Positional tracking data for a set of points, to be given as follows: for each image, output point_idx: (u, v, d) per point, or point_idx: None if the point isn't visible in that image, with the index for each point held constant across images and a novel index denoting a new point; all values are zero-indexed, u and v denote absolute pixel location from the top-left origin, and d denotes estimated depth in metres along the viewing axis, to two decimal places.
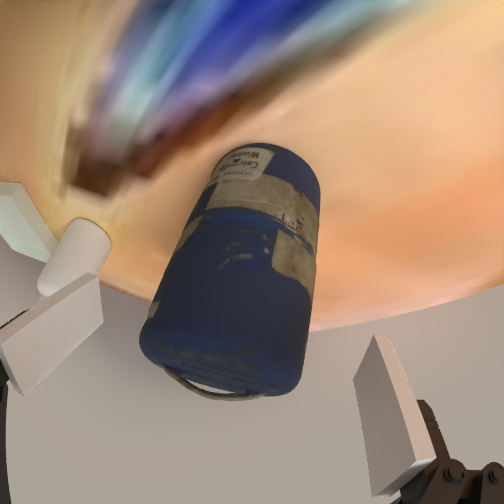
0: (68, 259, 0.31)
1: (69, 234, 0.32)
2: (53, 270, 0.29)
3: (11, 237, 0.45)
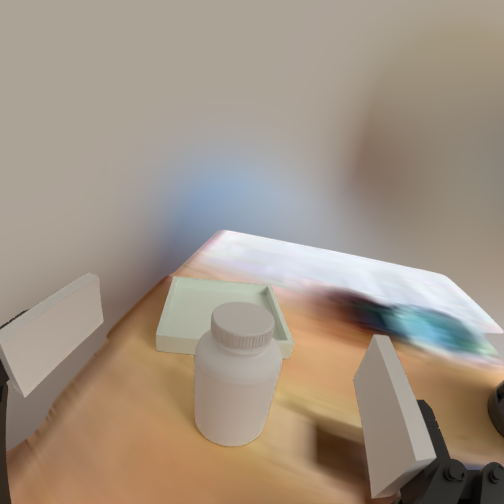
0: (272, 396, 0.24)
1: None
2: None
3: (188, 286, 0.55)
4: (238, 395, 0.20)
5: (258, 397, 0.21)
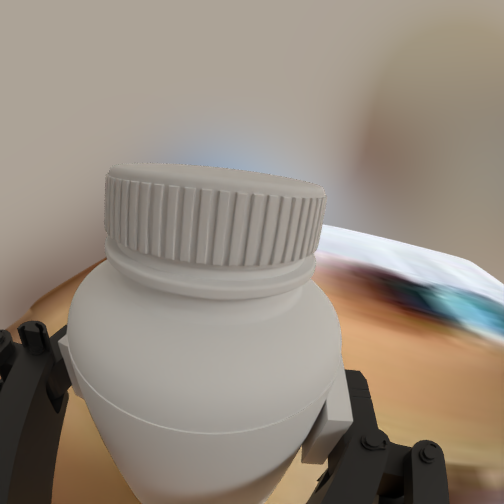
0: None
1: None
2: None
3: None
4: (189, 463, 0.04)
5: (265, 463, 0.05)
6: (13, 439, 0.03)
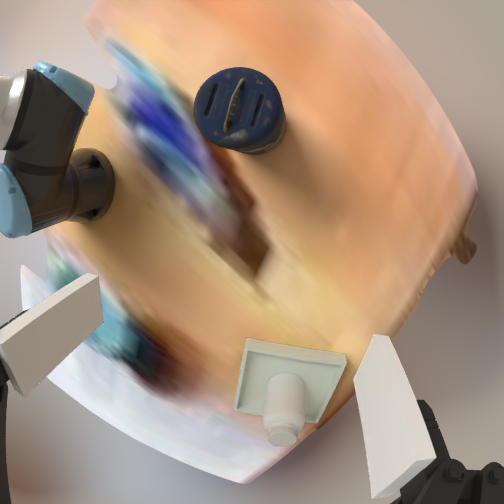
0: (268, 399, 0.47)
1: None
2: (263, 411, 0.45)
3: (305, 415, 0.56)
4: (290, 405, 0.44)
5: (280, 402, 0.44)
6: None
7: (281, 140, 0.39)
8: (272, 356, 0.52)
